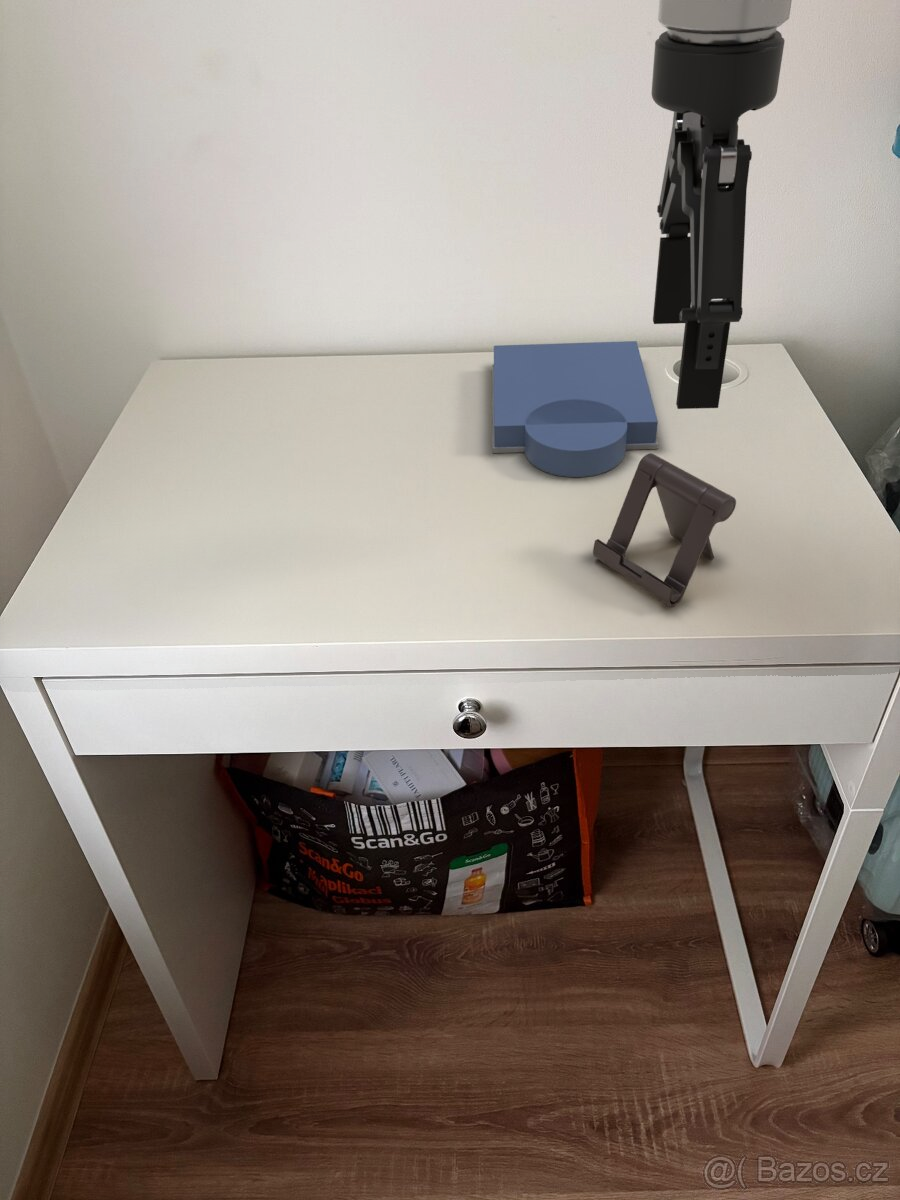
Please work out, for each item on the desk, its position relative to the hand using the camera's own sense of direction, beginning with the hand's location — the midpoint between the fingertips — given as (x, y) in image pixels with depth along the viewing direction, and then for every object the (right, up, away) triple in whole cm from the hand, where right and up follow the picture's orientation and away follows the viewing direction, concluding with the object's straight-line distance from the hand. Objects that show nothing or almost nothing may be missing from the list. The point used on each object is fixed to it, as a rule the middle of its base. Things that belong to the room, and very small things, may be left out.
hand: (682, 361), depth 71 cm
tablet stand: (+1, -15, +11) cm, 18 cm away
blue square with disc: (-4, +2, +31) cm, 31 cm away
